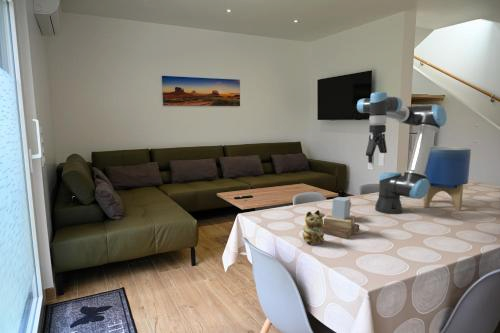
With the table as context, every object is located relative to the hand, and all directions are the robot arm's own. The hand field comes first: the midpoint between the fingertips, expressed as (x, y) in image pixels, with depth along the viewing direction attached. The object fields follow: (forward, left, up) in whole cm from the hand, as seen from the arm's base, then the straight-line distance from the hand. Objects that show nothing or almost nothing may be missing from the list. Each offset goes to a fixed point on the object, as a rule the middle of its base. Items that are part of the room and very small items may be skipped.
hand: (376, 167), depth 164 cm
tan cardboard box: (+19, -9, -31) cm, 38 cm away
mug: (-2, -17, -31) cm, 35 cm away
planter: (-69, +16, -31) cm, 77 cm away
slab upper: (+19, -9, -27) cm, 34 cm away
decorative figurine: (+39, -12, -31) cm, 51 cm away
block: (+19, -9, -23) cm, 31 cm away
